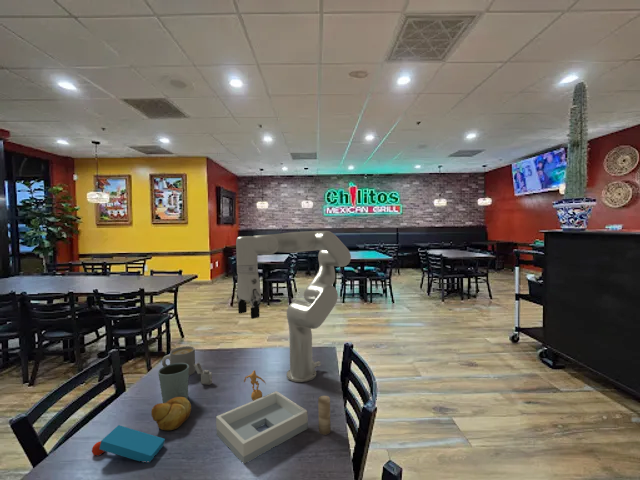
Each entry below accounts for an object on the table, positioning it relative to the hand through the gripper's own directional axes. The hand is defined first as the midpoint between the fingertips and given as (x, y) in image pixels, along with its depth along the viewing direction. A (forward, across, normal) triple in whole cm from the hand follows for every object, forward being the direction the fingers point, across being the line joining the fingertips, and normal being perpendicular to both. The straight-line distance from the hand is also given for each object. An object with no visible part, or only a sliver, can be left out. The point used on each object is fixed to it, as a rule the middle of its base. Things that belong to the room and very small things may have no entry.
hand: (248, 315), depth 117 cm
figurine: (+31, -5, +1) cm, 31 cm away
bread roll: (+31, +2, +26) cm, 40 cm away
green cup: (+31, +16, +22) cm, 41 cm away
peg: (+31, -34, -7) cm, 46 cm away
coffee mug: (+31, +40, +14) cm, 52 cm away
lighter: (+31, +22, +10) cm, 39 cm away
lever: (+31, -4, +41) cm, 52 cm away
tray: (+30, -21, +8) cm, 38 cm away
